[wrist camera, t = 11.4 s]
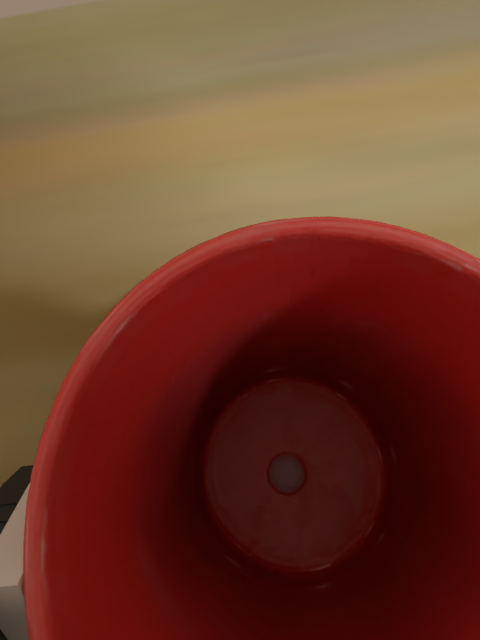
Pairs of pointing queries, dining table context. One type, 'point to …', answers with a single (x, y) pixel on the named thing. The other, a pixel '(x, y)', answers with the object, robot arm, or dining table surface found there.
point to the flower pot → (269, 447)
